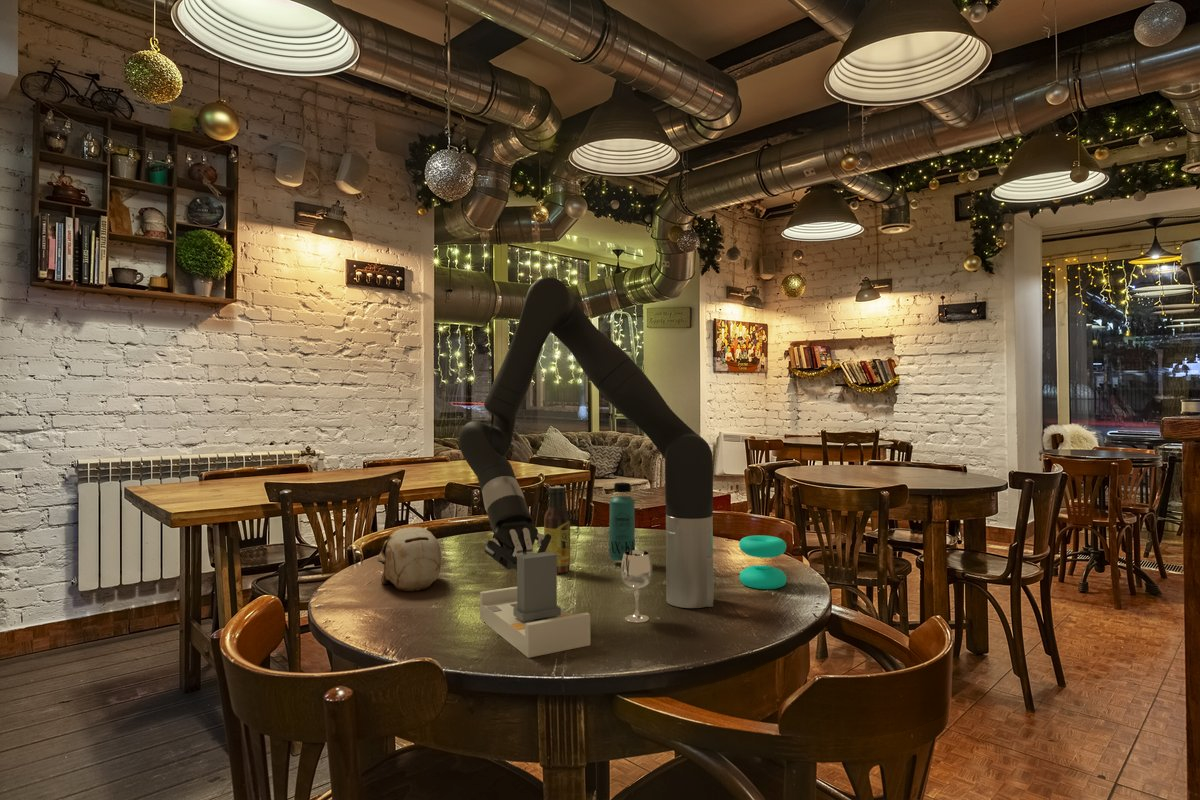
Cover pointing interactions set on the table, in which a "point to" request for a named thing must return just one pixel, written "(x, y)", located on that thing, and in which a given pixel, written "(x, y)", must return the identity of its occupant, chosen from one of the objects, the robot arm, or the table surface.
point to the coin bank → (410, 559)
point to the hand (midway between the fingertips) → (532, 585)
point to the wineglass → (636, 577)
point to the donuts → (760, 573)
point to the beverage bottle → (621, 523)
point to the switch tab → (536, 586)
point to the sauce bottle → (558, 528)
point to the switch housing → (533, 625)
